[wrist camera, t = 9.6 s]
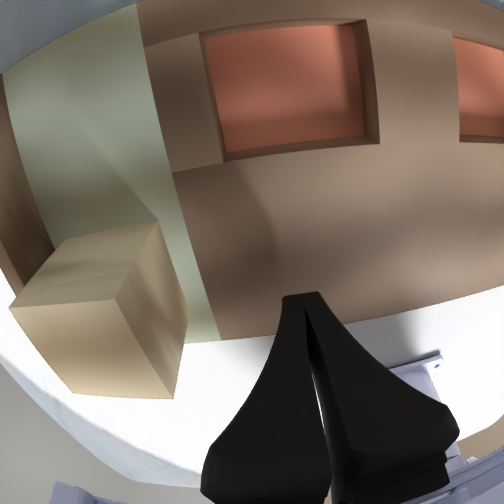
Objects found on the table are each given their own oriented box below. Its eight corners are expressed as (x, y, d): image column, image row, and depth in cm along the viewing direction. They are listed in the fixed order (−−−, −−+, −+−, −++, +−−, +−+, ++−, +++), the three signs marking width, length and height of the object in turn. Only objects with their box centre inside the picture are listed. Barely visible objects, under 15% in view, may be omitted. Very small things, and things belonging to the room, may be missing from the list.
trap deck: (563, 246, 15) (596, 278, 11) (105, 324, 18) (79, 385, 14) (581, 63, 7) (626, 77, 3) (14, 79, 10) (-55, 93, 5)
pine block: (190, 312, 15) (173, 398, 10) (105, 319, 15) (72, 393, 11) (158, 219, 12) (114, 299, 8) (65, 239, 12) (8, 307, 8)
